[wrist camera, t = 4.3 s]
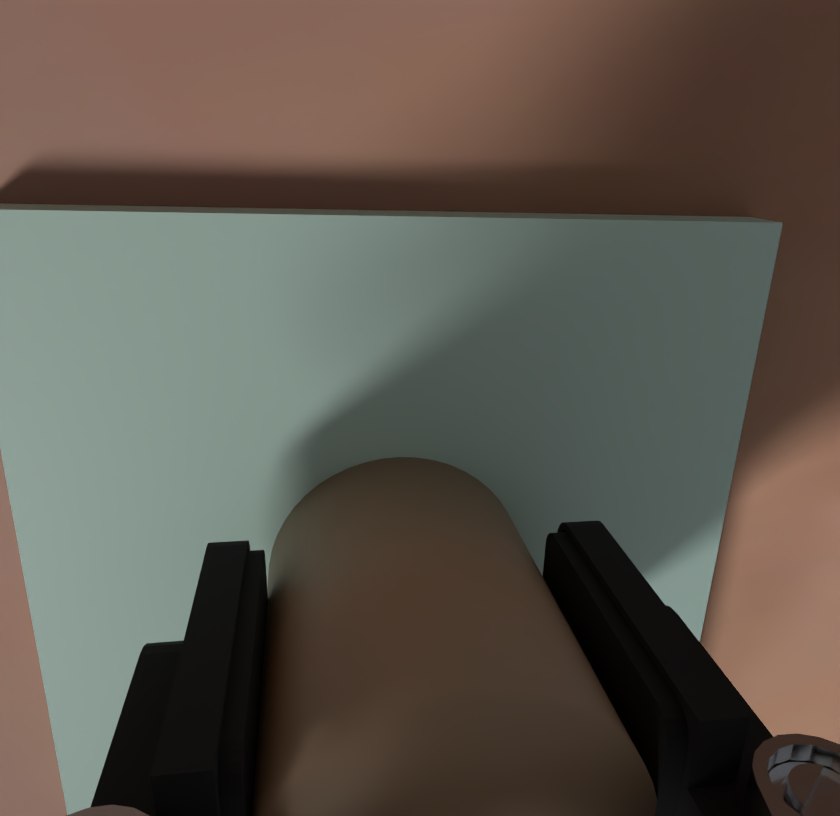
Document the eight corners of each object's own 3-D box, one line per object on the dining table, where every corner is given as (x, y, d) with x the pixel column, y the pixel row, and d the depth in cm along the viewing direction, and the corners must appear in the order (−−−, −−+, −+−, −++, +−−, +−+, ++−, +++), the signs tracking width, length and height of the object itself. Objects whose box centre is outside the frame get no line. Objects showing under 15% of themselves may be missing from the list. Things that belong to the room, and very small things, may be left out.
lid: (-17, 202, 10) (-422, 289, 4) (750, 216, 11) (1161, 291, 6) (88, 822, 13) (-55, 1281, 8) (651, 763, 15) (844, 1111, 10)
